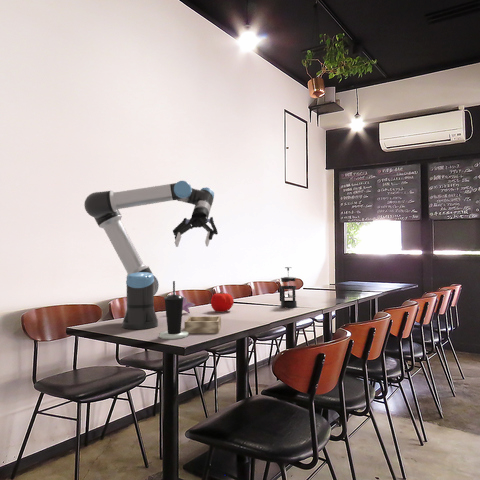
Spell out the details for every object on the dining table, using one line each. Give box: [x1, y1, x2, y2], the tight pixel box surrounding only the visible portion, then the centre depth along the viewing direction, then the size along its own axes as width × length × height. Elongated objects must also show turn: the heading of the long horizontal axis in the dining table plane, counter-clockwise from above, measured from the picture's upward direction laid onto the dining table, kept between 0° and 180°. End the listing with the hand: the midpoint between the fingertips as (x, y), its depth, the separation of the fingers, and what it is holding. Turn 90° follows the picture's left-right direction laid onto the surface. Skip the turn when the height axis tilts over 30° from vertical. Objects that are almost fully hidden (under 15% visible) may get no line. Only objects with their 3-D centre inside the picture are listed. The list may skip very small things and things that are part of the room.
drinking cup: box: [163, 280, 185, 334], centre depth 160 cm, size 8×8×20 cm
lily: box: [182, 296, 196, 314], centre depth 218 cm, size 12×12×10 cm
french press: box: [279, 266, 298, 309], centre depth 240 cm, size 12×9×23 cm
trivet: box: [158, 330, 189, 340], centre depth 160 cm, size 11×11×1 cm
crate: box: [184, 315, 222, 334], centre depth 172 cm, size 14×14×4 cm
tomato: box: [210, 291, 235, 313], centre depth 224 cm, size 13×12×11 cm
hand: (191, 244), depth 177 cm, fingers open, 13 cm apart
